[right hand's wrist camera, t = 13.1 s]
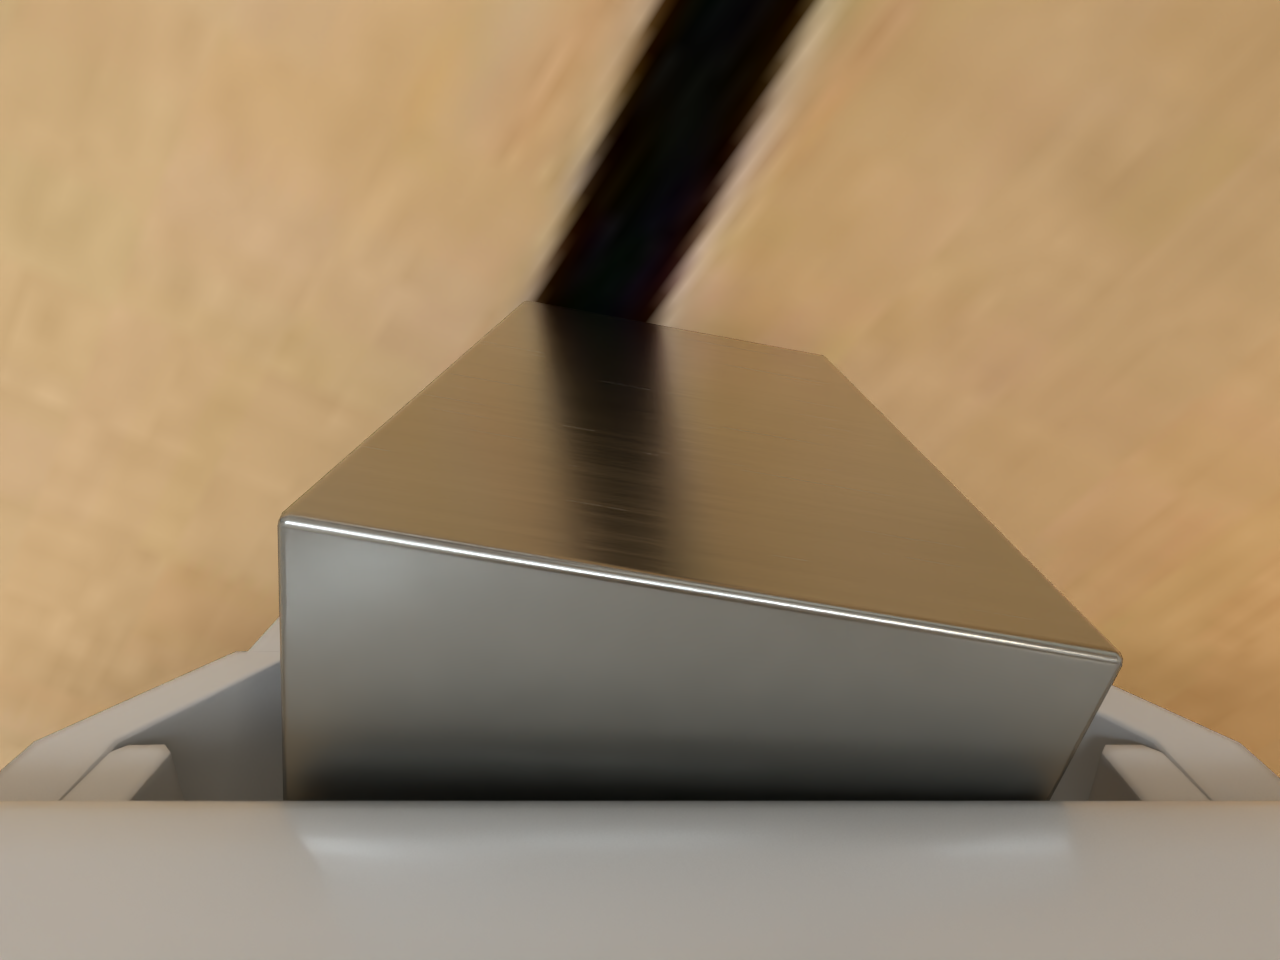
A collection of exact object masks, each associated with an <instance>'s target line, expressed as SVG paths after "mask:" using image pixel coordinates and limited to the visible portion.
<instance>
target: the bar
mask: <svg viewBox="0 0 1280 960" xmlns="http://www.w3.org/2000/svg"><path fill="white" fill-rule="evenodd" d="M278 568H279V617H280V667H281V717H282V766H283V801H1050V799H1051V797H1052V795H1053V793H1054V791H1055V790H1056V788H1057V786H1058V784H1059V782H1060V780H1061V778H1062V777H1063V775H1064V773H1065V771H1066V769H1067V767H1068V765H1069V764H1070V762H1071V760H1072V758H1073V756H1074V754H1075V752H1076V751H1077V749H1078V747H1079V745H1080V743H1081V741H1082V739H1083V738H1084V736H1085V734H1086V732H1087V730H1088V728H1089V726H1090V725H1091V723H1092V721H1093V719H1094V717H1095V715H1096V713H1097V712H1098V710H1099V708H1100V706H1101V704H1102V702H1103V700H1104V699H1105V697H1106V695H1107V693H1108V691H1109V689H1110V687H1111V686H1112V684H1113V682H1114V680H1115V678H1116V676H1117V674H1118V673H1119V671H1120V669H1121V667H1122V660H1123V658H1122V656H1121V653H1120V652H1119V651H1118V650H1117V649H1116V648H1115V647H1114V646H1113V645H1112V644H1111V643H1110V642H1109V641H1108V640H1107V639H1106V638H1105V637H1104V636H1103V635H1102V634H1101V633H1100V632H1099V631H1098V630H1097V629H1096V628H1095V627H1094V626H1093V625H1092V624H1091V623H1090V622H1089V621H1088V620H1087V619H1086V618H1085V617H1084V616H1083V615H1082V614H1081V613H1080V612H1079V611H1078V610H1077V609H1076V608H1075V607H1074V606H1073V605H1072V604H1071V603H1070V602H1069V601H1068V600H1067V599H1066V598H1065V597H1064V596H1063V595H1062V594H1061V593H1060V592H1059V591H1058V590H1057V589H1056V588H1055V587H1054V586H1053V585H1052V584H1051V583H1050V582H1049V581H1048V580H1047V579H1046V578H1045V577H1044V576H1043V575H1042V574H1041V573H1040V572H1039V571H1038V570H1037V569H1036V568H1035V567H1034V566H1033V565H1032V564H1031V563H1030V562H1029V561H1028V560H1027V559H1026V558H1025V557H1024V556H1023V555H1022V554H1021V553H1020V552H1019V551H1018V550H1017V549H1016V548H1015V547H1014V546H1013V545H1012V544H1011V543H1010V542H1009V541H1008V540H1007V539H1006V538H1005V536H1004V535H1003V534H1002V533H1001V532H1000V531H999V530H998V529H997V528H996V527H995V526H994V525H993V524H992V523H991V522H990V521H989V520H988V519H987V518H986V517H985V516H984V515H983V514H982V513H981V512H980V511H979V510H978V509H977V508H976V507H975V506H974V505H973V504H972V503H971V502H970V501H969V500H968V499H967V498H966V497H965V496H964V495H963V494H962V493H961V492H960V491H959V490H958V489H957V488H956V487H955V486H954V485H953V484H952V483H951V482H950V481H949V480H948V479H947V478H946V477H945V476H944V475H943V474H942V473H941V472H940V471H939V470H938V469H937V468H936V467H935V466H934V465H933V464H932V463H931V462H930V461H929V460H928V459H927V458H926V457H925V456H924V455H923V454H922V453H921V452H920V451H919V450H918V449H917V448H916V447H915V446H914V445H913V444H912V443H911V442H910V441H909V440H908V439H907V438H906V437H905V436H904V435H903V434H902V433H901V432H900V431H899V430H898V429H897V428H896V427H895V426H894V425H893V424H892V423H891V422H890V421H889V420H888V419H887V418H886V417H885V416H884V415H883V414H882V413H881V412H880V411H879V410H878V409H877V408H876V407H875V406H874V405H873V404H872V403H871V402H870V401H869V400H868V399H867V398H866V397H865V396H864V395H863V394H862V393H861V392H860V391H859V390H858V389H857V388H856V387H855V386H854V385H853V384H852V383H851V382H850V381H849V380H848V379H847V378H846V377H845V376H844V375H843V374H842V373H841V372H840V371H839V370H838V369H837V368H836V367H835V366H834V365H833V364H832V363H831V362H830V361H829V360H828V359H827V358H826V357H825V356H823V355H818V354H813V353H807V352H802V351H796V350H791V349H785V348H780V347H775V346H769V345H764V344H758V343H753V342H748V341H742V340H737V339H731V338H726V337H720V336H715V335H710V334H704V333H699V332H693V331H688V330H683V329H677V328H672V327H666V326H661V325H656V324H650V323H645V322H639V321H634V320H628V319H623V318H618V317H612V316H607V315H601V314H596V313H591V312H585V311H580V310H574V309H569V308H563V307H558V306H553V305H547V304H542V303H536V302H531V301H525V302H523V303H522V304H521V305H520V306H518V307H517V308H516V309H515V310H514V311H513V312H512V313H510V314H509V315H508V316H507V317H506V318H505V319H503V320H502V321H501V322H500V323H499V324H498V325H497V326H495V327H494V328H493V329H492V330H491V331H490V332H489V333H487V334H486V335H485V336H484V337H483V338H482V339H481V340H479V341H478V342H477V343H476V344H475V345H474V346H473V347H471V348H470V349H469V350H468V351H467V352H466V353H465V354H463V355H462V356H461V357H460V358H459V359H458V360H457V361H455V362H454V363H453V364H452V365H451V366H450V367H449V368H447V369H446V370H445V371H444V372H443V373H442V374H441V375H439V376H438V377H437V378H436V379H435V380H434V381H433V382H431V383H430V384H429V385H428V386H427V387H426V388H425V389H423V390H422V391H421V392H420V393H419V394H418V395H417V396H415V397H414V398H413V399H412V400H411V401H410V402H409V403H407V404H406V405H405V406H404V407H403V408H402V409H400V410H399V411H398V412H397V413H396V414H395V415H394V416H392V417H391V418H390V419H389V420H388V421H387V422H386V423H384V424H383V425H382V426H381V427H380V428H379V429H378V430H376V431H375V432H374V433H373V434H372V435H371V436H370V437H368V438H367V439H366V440H365V441H364V442H363V443H362V444H360V445H359V446H358V447H357V448H356V449H355V450H354V451H352V452H351V453H350V454H349V455H348V456H347V457H346V458H344V459H343V460H342V461H341V462H340V463H339V464H338V465H336V466H335V467H334V468H333V469H332V470H331V471H330V472H328V473H327V474H326V475H325V476H324V477H323V478H322V479H320V480H319V481H318V482H317V483H316V484H315V485H314V486H312V487H311V488H310V489H309V490H308V491H307V492H306V493H304V494H303V495H302V496H301V497H300V498H299V499H297V500H296V501H295V502H294V503H293V504H292V505H291V506H289V507H288V508H287V509H286V510H285V511H284V512H283V513H282V515H281V517H280V519H279V521H278Z"/></svg>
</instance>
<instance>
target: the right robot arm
mask: <svg viewBox="0 0 1280 960" xmlns="http://www.w3.org/2000/svg"><path fill="white" fill-rule="evenodd" d="M0 960H1280V778H1279V777H1278V776H1277V775H1276V774H1275V773H1273V772H1272V771H1271V770H1270V769H1269V768H1268V767H1267V766H1266V765H1264V764H1263V763H1262V762H1261V761H1260V760H1259V759H1258V758H1256V757H1255V756H1254V755H1253V754H1252V753H1251V752H1250V751H1249V750H1247V749H1246V748H1245V747H1244V746H1243V745H1242V744H1241V743H1239V742H1237V741H1235V740H1232V739H1230V738H1228V737H1226V736H1224V735H1221V734H1219V733H1217V732H1215V731H1213V730H1210V729H1208V728H1206V727H1204V726H1202V725H1199V724H1197V723H1195V722H1193V721H1190V720H1188V719H1186V718H1184V717H1182V716H1179V715H1177V714H1175V713H1173V712H1171V711H1168V710H1166V709H1164V708H1162V707H1160V706H1157V705H1155V704H1153V703H1151V702H1148V701H1146V700H1144V699H1142V698H1140V697H1137V696H1135V695H1133V694H1131V693H1129V692H1126V691H1124V690H1122V689H1120V688H1118V687H1115V686H1113V685H1112V686H1111V687H1110V689H1109V691H1108V693H1107V695H1106V697H1105V699H1104V700H1103V702H1102V704H1101V706H1100V708H1099V710H1098V712H1097V713H1096V715H1095V717H1094V719H1093V721H1092V723H1091V725H1090V726H1089V728H1088V730H1087V732H1086V734H1085V736H1084V738H1083V739H1082V741H1081V743H1080V745H1079V747H1078V749H1077V751H1076V752H1075V754H1074V756H1073V758H1072V760H1071V762H1070V764H1069V765H1068V767H1067V769H1066V771H1065V773H1064V775H1063V777H1062V778H1061V780H1060V782H1059V784H1058V786H1057V788H1056V790H1055V791H1054V793H1053V795H1052V797H1051V799H1050V801H283V766H282V717H281V667H280V617H278V618H277V619H276V621H275V622H274V623H273V624H272V625H271V626H270V627H269V628H268V629H267V630H266V632H265V633H264V634H263V635H262V636H261V637H260V638H259V639H258V640H257V642H256V643H255V644H254V645H253V646H252V647H251V648H250V649H249V650H248V651H236V652H233V653H231V654H229V655H227V656H224V657H222V658H220V659H218V660H216V661H213V662H211V663H209V664H207V665H204V666H202V667H200V668H198V669H195V670H193V671H191V672H189V673H186V674H184V675H182V676H180V677H178V678H175V679H173V680H171V681H169V682H166V683H164V684H162V685H160V686H157V687H155V688H153V689H151V690H148V691H146V692H144V693H142V694H140V695H137V696H135V697H133V698H131V699H128V700H126V701H124V702H122V703H119V704H117V705H115V706H113V707H110V708H108V709H106V710H104V711H102V712H99V713H97V714H95V715H93V716H90V717H88V718H86V719H84V720H81V721H79V722H77V723H75V724H72V725H70V726H68V727H66V728H64V729H61V730H59V731H57V732H55V733H52V734H50V735H48V736H46V737H43V738H41V739H39V740H37V741H34V742H33V743H32V744H31V745H30V746H28V747H27V748H26V749H25V750H24V751H23V752H21V753H20V754H19V755H18V756H17V757H16V758H15V759H13V760H12V761H11V762H10V763H9V764H8V765H6V766H5V767H4V768H3V769H2V770H1V771H0Z"/></svg>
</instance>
